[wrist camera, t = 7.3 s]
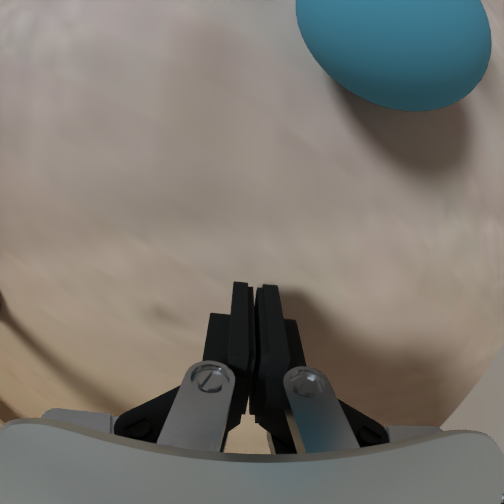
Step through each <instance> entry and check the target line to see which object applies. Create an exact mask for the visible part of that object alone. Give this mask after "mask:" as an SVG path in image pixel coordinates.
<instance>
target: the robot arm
mask: <svg viewBox="0 0 504 504" xmlns="http://www.w3.org/2000/svg"><path fill="white" fill-rule="evenodd" d="M248 397H249V413H250V415H255V423H259V425H260V426H261V427H263V428H264V429H265V430H267V432H266V433H267V440H268V444H269V448H270V452H271V454H237V453H224V451H225V447H226V442H227V438H228V433H229V431H230V430H232V429H233V428H235V427H236V426H237V425H239V424H240V420H241V415H242V414H245V412H246V407H247V402H248ZM0 504H504V455H503V453H502V451H501V450H500V448H499V447H498V445H497V444H496V442H495V441H494V440H493V439H492V438H491V437H490V436H488V435H487V434H485V433H482V432H477V431H471V430H449V431H442V430H441V429H440V428H438V427H436V426H400V425H388V427H387V428H384V427H383V426H382V425H380V424H379V423H378V422H376V421H374V420H373V419H371V418H369V417H367V416H366V415H364V414H362V413H361V412H359V411H357V410H355V409H354V408H352V407H350V406H349V405H347V404H345V403H344V402H342V401H341V400H339V399H337V397H336V395H335V393H334V391H333V389H332V386H331V384H330V382H329V380H328V379H327V377H326V376H325V375H324V374H323V373H322V372H321V371H319V370H317V369H315V368H311V367H306V362H305V358H304V353H303V349H302V344H301V340H300V336H299V331H298V327H297V323H296V320H291V319H284V318H283V313H282V307H281V302H280V296H279V291H278V286H277V285H266V284H263V286H262V288H258V287H257V291H256V298H255V305H254V296H253V287H248V283H244V282H234V284H233V294H232V304H231V314H230V315H228V314H218V313H210V318H209V324H208V330H207V336H206V342H205V348H204V354H203V360H202V361H201V362H198V363H195V364H194V365H192V366H191V367H189V369H188V370H187V372H186V374H185V376H184V379H183V381H182V383H181V385H180V386H178V387H176V388H174V389H172V390H170V391H168V392H166V393H164V394H162V395H160V396H158V397H156V398H154V399H152V400H150V401H148V402H146V403H144V404H142V405H140V406H138V407H136V408H133V409H131V410H129V411H127V412H125V413H123V414H122V415H120V416H112V415H111V413H101V412H88V411H78V410H69V409H61V408H52V409H50V410H48V411H46V412H45V413H44V414H43V415H42V417H41V418H20V419H14V420H11V421H8V422H6V423H5V424H3V425H2V426H1V427H0Z"/></svg>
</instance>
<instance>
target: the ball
mask: <svg viewBox="0 0 504 504" xmlns="http://www.w3.org/2000/svg"><path fill="white" fill-rule="evenodd" d="M296 16H297V21H298V25H299V28H300V31H301V34H302V37H303V39H304V41H305V43H306V45H307V47H308V49H309V50H310V52H311V54H312V55H313V57H314V58H315V60H316V61H317V62H318V63H319V64H320V66H321V67H322V68H323V69H324V70H325V71H326V72H327V73H328V74H329V75H330V76H331V77H332V78H333V79H334V80H335V81H336V82H338V83H339V84H340V85H342V86H343V87H345V88H346V89H347V90H349V91H350V92H352V93H354V94H355V95H357V96H359V97H361V98H363V99H365V100H367V101H370V102H372V103H374V104H377V105H381V106H384V107H387V108H391V109H396V110H402V111H429V110H434V109H440V108H443V107H446V106H449V105H451V104H453V103H455V102H457V101H459V100H460V99H462V98H464V97H465V96H466V95H467V94H469V93H470V92H471V91H472V90H473V89H474V88H475V86H476V85H477V84H478V83H479V82H480V80H481V79H482V77H483V75H484V73H485V71H486V68H487V65H488V62H489V59H490V54H491V30H490V26H489V22H488V18H487V15H486V12H485V9H484V7H483V5H482V3H481V1H480V0H296Z"/></svg>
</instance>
